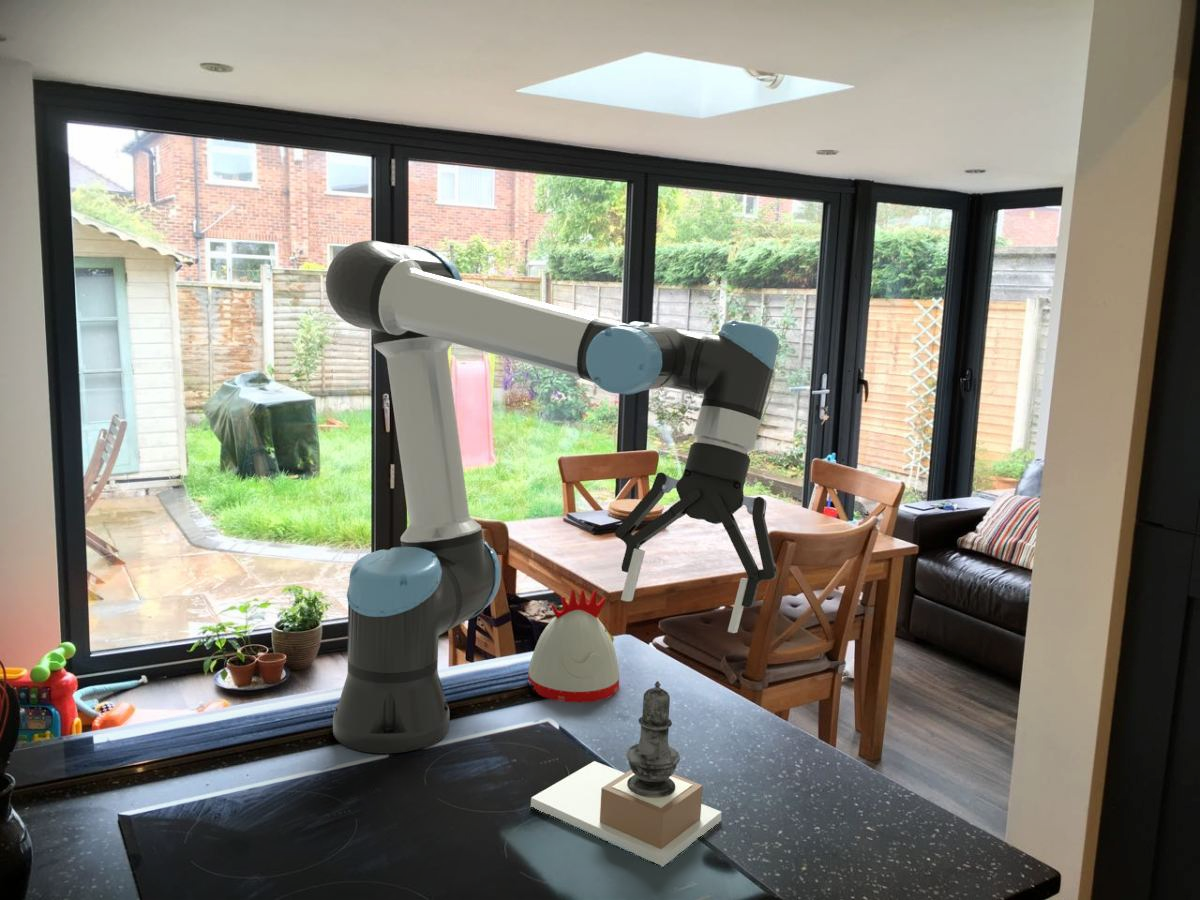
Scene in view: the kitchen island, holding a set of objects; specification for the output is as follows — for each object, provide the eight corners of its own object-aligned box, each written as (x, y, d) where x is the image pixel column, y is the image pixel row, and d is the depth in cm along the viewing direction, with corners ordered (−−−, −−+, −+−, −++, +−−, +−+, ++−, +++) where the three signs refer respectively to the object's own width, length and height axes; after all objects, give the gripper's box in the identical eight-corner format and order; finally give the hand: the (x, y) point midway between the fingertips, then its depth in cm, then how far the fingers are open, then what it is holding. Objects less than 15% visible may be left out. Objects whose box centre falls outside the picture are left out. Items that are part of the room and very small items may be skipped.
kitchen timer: (627, 701, 140) (632, 603, 138) (534, 704, 137) (538, 603, 135) (608, 666, 153) (613, 576, 151) (523, 668, 151) (527, 576, 148)
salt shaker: (674, 802, 101) (681, 695, 99) (619, 794, 102) (625, 687, 100) (681, 776, 106) (688, 674, 105) (629, 769, 108) (635, 668, 106)
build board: (530, 807, 109) (532, 763, 108) (593, 770, 118) (596, 729, 117) (663, 867, 98) (666, 820, 97) (720, 821, 108) (724, 777, 107)
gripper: (825, 474, 116) (782, 643, 115) (635, 430, 124) (593, 587, 123) (820, 467, 109) (775, 647, 108) (619, 420, 117) (575, 588, 116)
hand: (678, 616), depth 116 cm, fingers open, 13 cm apart
